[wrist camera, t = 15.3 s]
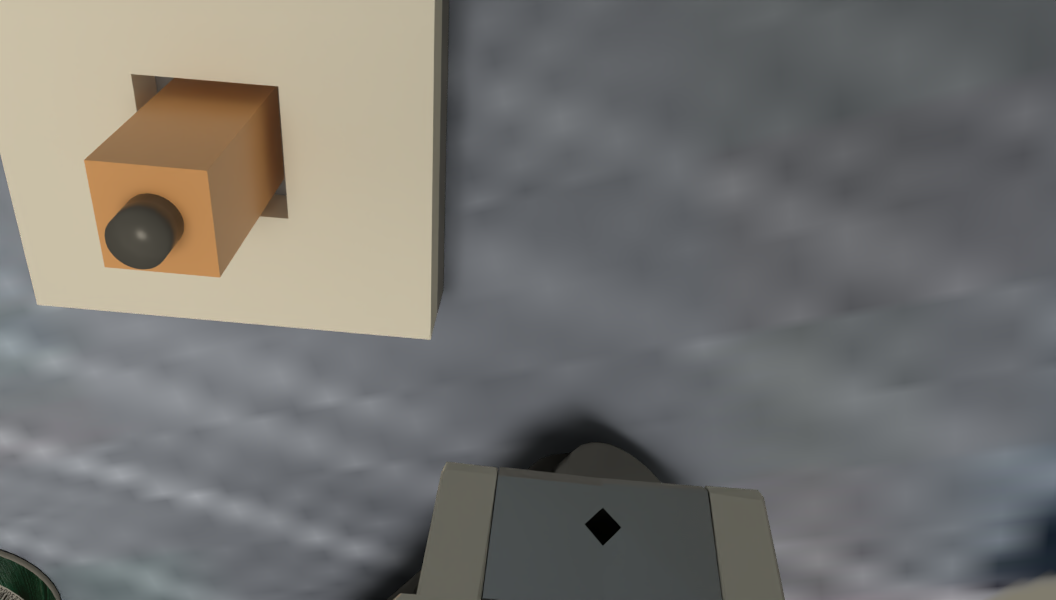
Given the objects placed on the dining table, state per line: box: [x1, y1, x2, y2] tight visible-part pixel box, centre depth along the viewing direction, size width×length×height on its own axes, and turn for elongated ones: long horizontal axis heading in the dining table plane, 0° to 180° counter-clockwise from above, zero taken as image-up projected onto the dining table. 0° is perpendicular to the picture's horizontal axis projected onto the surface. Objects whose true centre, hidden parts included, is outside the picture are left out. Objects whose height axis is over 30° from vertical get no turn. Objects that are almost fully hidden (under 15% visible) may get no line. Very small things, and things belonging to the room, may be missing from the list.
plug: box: [84, 78, 284, 277], centre depth 35 cm, size 4×4×10 cm
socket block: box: [0, 0, 449, 340], centre depth 39 cm, size 17×16×4 cm
